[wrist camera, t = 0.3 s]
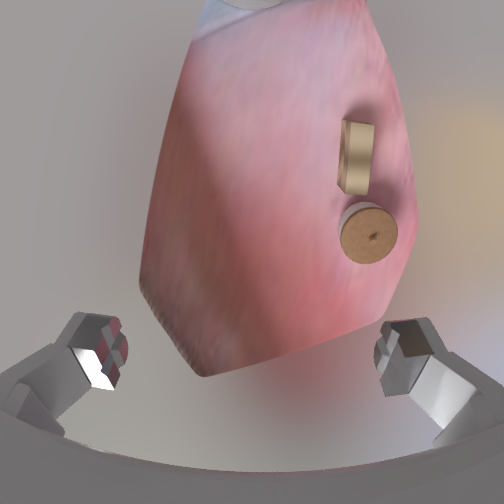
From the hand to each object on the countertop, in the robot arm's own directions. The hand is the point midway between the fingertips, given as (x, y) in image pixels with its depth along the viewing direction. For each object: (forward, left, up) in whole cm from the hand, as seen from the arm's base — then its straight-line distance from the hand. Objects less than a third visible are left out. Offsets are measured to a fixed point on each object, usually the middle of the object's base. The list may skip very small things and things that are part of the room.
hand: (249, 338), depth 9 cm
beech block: (+2, +16, -46) cm, 49 cm away
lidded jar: (+15, +19, -46) cm, 53 cm away
